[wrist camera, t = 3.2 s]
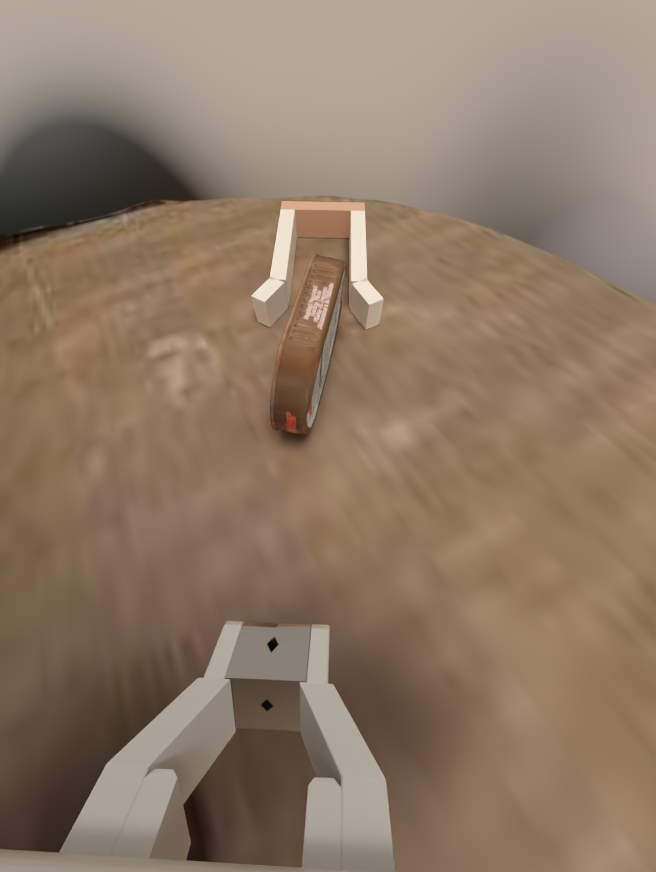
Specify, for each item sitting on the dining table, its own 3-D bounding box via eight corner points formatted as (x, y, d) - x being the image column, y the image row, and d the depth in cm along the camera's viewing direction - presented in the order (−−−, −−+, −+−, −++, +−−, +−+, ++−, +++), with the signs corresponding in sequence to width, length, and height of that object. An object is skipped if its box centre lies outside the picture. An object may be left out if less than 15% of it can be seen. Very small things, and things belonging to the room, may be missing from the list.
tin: (316, 313, 32) (312, 226, 25) (347, 317, 32) (353, 232, 25) (275, 448, 26) (253, 387, 18) (313, 455, 26) (307, 396, 18)
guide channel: (256, 327, 31) (249, 301, 29) (273, 228, 38) (269, 200, 36) (379, 330, 31) (383, 305, 29) (373, 230, 38) (377, 203, 35)
